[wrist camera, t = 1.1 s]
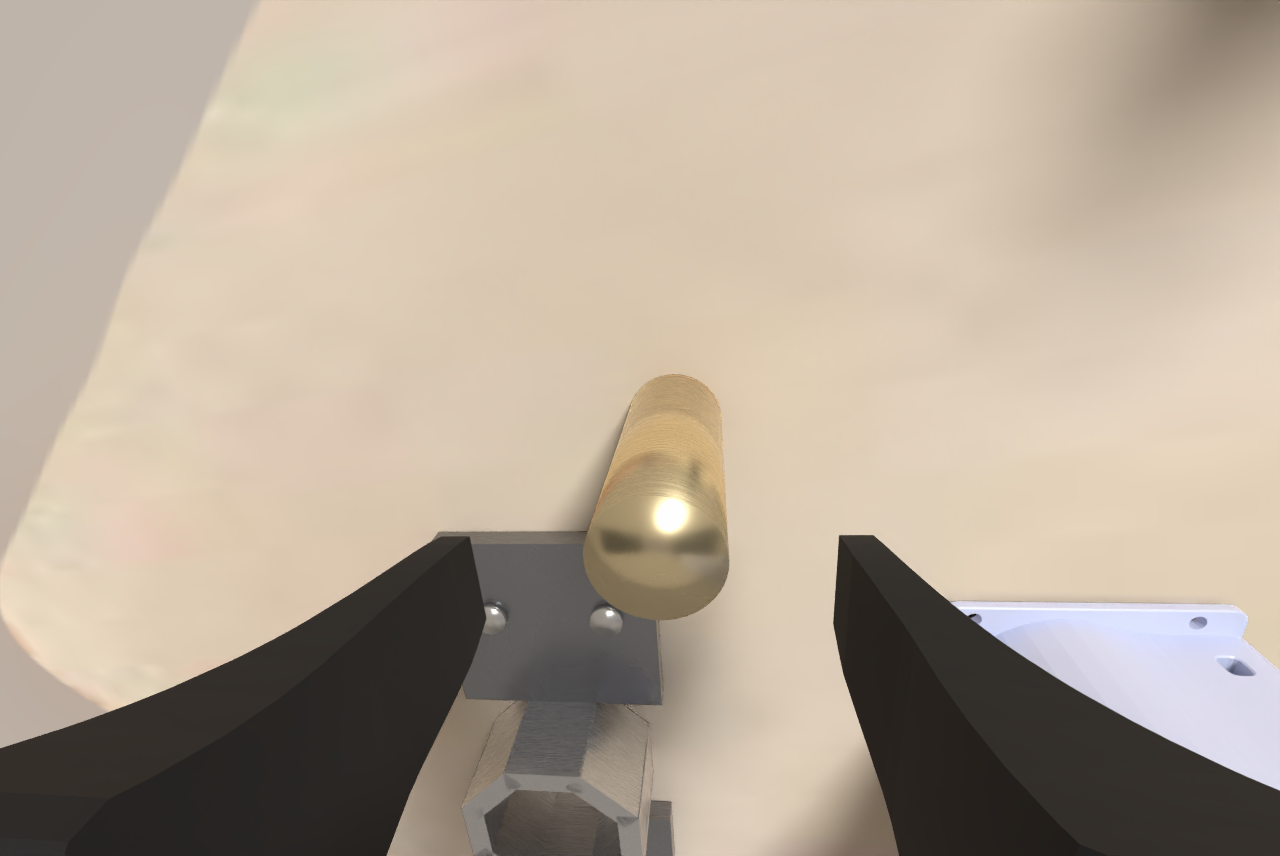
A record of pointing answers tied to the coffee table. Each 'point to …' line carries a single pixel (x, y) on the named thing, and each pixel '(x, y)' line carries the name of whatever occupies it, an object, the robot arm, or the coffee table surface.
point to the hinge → (561, 708)
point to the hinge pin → (663, 506)
